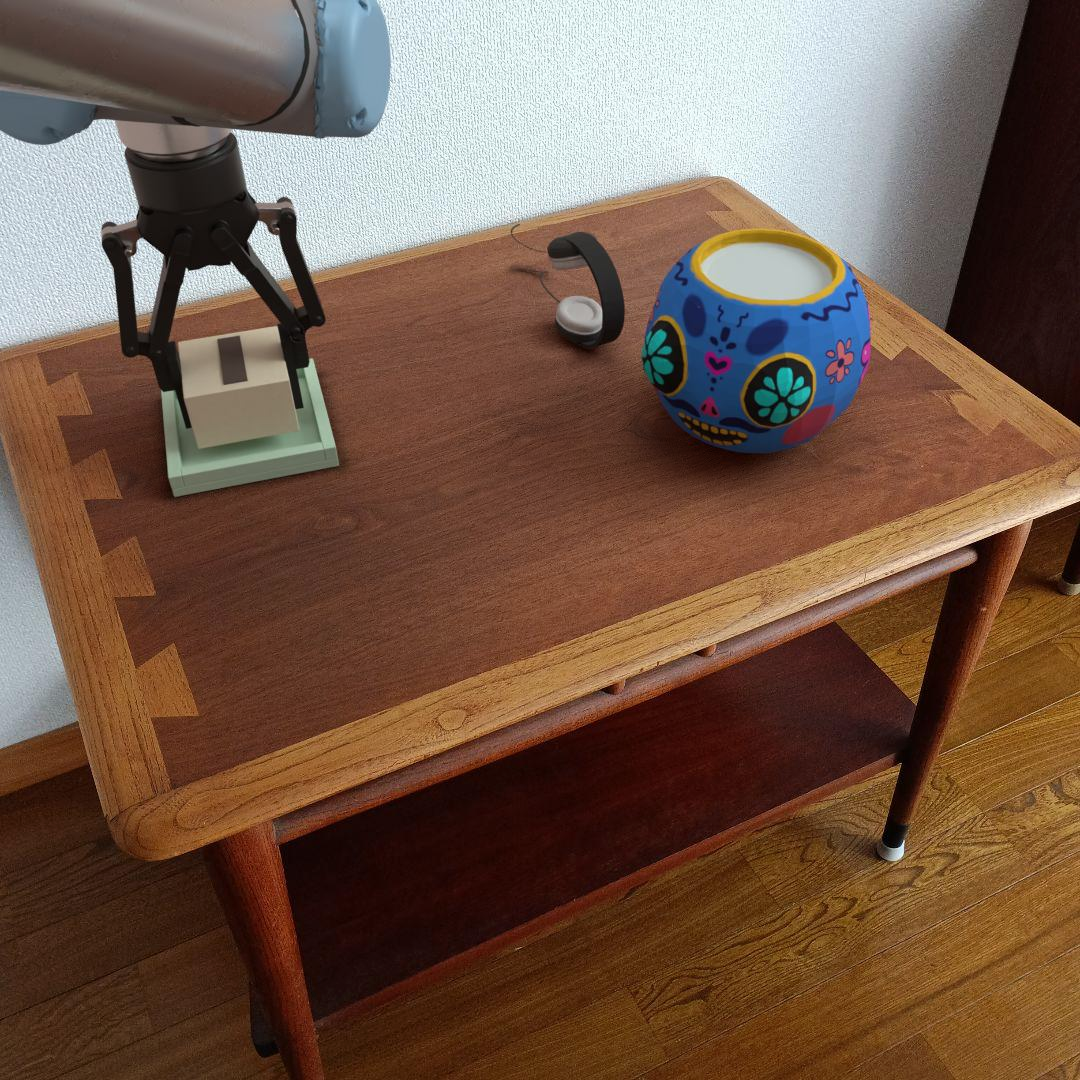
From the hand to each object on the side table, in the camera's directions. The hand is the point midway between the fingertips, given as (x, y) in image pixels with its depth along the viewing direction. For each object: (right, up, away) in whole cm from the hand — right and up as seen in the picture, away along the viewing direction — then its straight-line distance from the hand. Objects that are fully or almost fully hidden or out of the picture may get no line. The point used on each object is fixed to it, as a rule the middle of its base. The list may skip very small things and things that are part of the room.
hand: (244, 408), depth 91 cm
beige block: (0, 0, 0) cm, 0 cm away
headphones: (+26, +11, +15) cm, 32 cm away
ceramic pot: (+41, -1, +2) cm, 41 cm away
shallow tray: (0, -2, +2) cm, 3 cm away
